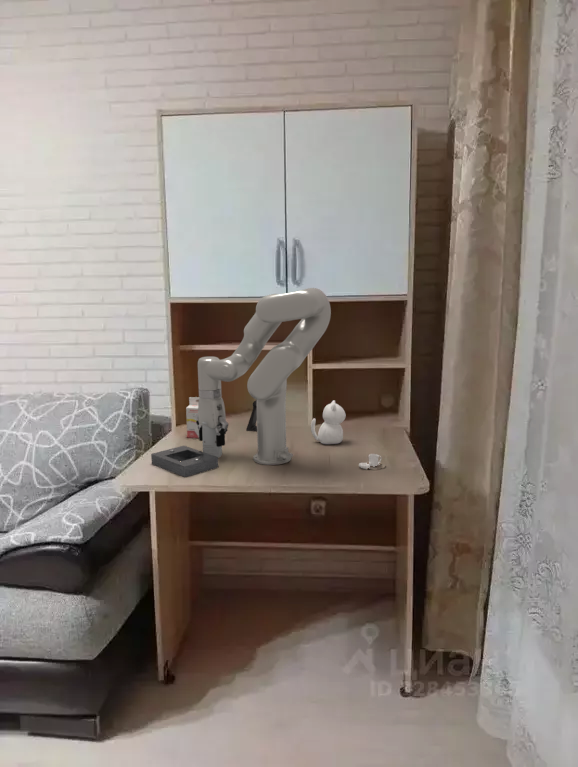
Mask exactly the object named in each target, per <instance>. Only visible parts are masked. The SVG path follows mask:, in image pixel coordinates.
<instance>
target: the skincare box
mask: <svg viewBox="0 0 578 767" xmlns="http://www.w3.org/2000/svg"><path fill="white" fill-rule="evenodd" d="M217 426H220V423H218V425H217ZM220 430H221V429H220V428H219V431H220ZM216 435H217V432H216V430H215V429H212V428H209V427H208V426H207V423H205V422H203V423H202V436H203V441H202V452H205V453H207V454H210V455H213V456H216V457H218V459H219V458H221V456H222V455H223V446H220V447H217V445H216Z"/></svg>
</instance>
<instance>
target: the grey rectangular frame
mask: <svg viewBox="0 0 578 767" xmlns="http://www.w3.org/2000/svg"><path fill="white" fill-rule="evenodd" d="M150 454H151V455H150V457H151V458H150V459H151V465H153V466H156V467H158V468H160V469H162V470H165V471H168V472H171V473H174V474H175V475H178V476H181V477H183V478H187V477H191V476H194V475H197V474H201V473H205V472H207V470H208V471H211V469H212V470H215V469H218V468H219V458H218V457H216V456H213V455H210V454H207V453H205V452H203V450H198V449H196V448H192V447H190V446H187V445H180V446H176V447H172V448H169V449H165V450H161V451H157V452H153V453H150ZM180 461H181V462H180ZM217 467H218V468H217ZM204 471H205V472H204ZM200 472H201V473H200Z"/></svg>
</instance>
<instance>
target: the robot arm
mask: <svg viewBox="0 0 578 767" xmlns="http://www.w3.org/2000/svg"><path fill="white" fill-rule="evenodd" d="M331 309H332V308H331V303H330V301H329V298H328V297H327V294H326V293H325V292H324V291H322V290H321V289H319V288H317V287H316V288H315V287H308V288H305V289H302V290H297V291H291V292H286V293H271V294H267V295H264V296H262V297H261V298H260V299H259V300H258V302H257V303H256V306H255V312H254V313H253V314H254V315H252V317H251V318H250V319H249V321H248V323H247V324H246V325H245V326H244V329H243V337H242V340H241V342H239V343H240V344H239V345H238V346H237V348H236V349H235V351H234V352H233V353H232V354H231V355H230V356H227V357H226V358H222V359H220V358H219V357H217V356H202V357H200V358H198V361H197V378H198V379H197V382H198V397H199V400H198V401H197V402H198V414H196V415H195V419H196V423H197V425H198V429H200V430H199V438H198V440H199V441H200V442H203V436H202V423H203V422H205V423H207V426H208V427H209V428H212V429H215V430H216V432H217V435H216V445H217V447H220V446H222V447H223V446H226V434H227V432H228V427H229V423H228V421H227V418H226V406H225V403H224V399H223V397H222V396H223V394H222V382H226V383H227V382H229V383H230V382H233V381H235V380H237V379H239V378H240V377H242V376H244V375H245V374H246V373H247V371H248V370H249V369H250V368H251V366H252V365H253V364H254V363H255V361H256V360H257V359H258V357H259V355H260V354H261V352H262V350H263V349H264V348H265V346H266V344H267V343H268V341H269V340H270V338H271V337H272V336H273V334H274V333H275V332H276V331H277V329H278V328H279V327H280V325H281V324H282V322H284V323H285V322H291V321H295V320H300V321H299V322H298V323H297V324H296V325H295V327H294V328H293V329H292V331H291V332H290V333H289V334H288V336H287V337H285V339H284V340H283V341H282V342H280V343H278V344H277V345H275V346H273V347H272V348H271V349H270V350H269V351H268V352H267V354H266V355H265V356H264V357H263V359H261V361H260V362H259V363H258V365H257V367H256V368H255V369H254V371H253V372H252V373H251V375H250V376H249V378H248V379H247V385H246V387H247V391H248V394H249V396H250V397H251V398H252V399H254V400H257V421H256V426H257V431H256V433H257V435H256V436H257V437H256V438H257V441H256V442H257V452H256V453H255V454H254V455H253V456H252V457H253V459H252V460H253V462H255V463H256V464H260V465H266V466H274V465H275V466H276V465H283V464H285V463H288V462H290V461H291V459H292V458H293V457H294V453H292V452H289V447H288V446H287V423H286V422H287V421H286V418H287V417H286V416H287V415H286V410H287V409H286V408H287V407H286V405H287V404H286V401H287V400H286V399H287V398H286V397H287V396H286V395H287V387H288V386H287V385H288V383H287V381H288V380H287V379H288V378H289V377H290V375H291V374H292V373H293V372H294V371H296V370H297V369H298V368H299V367H300V366H301V365H302V363H303V362H304V361H305V359H306V357H307V356H308V355H309V354H310V353H311V351H312V350H313V349H314V348H315V346H316V344H317V343H318V342H319V340H320V339H321V338H322V336H323V335H324V334H325V332H326V331H327V329H328V327H329V324H330V321H331V317H332V316H331V315H332V313H331V312H332V310H331ZM218 423H220V426H217V425H218ZM219 428H220V429H221V430H220V431H219Z"/></svg>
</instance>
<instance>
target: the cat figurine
mask: <svg viewBox="0 0 578 767" xmlns="http://www.w3.org/2000/svg"><path fill="white" fill-rule="evenodd" d="M346 417H347V416H346V411H345V410H344V408H343V407H342V406H341V405H339V404H338V403H336V400H332V401H331V402H330V403H328V404H326V406H325V407H324V408H323V412H322V419H323V421H324V422H323V423H322V424H321V426H320V427H319V428H318V433H317V432H316V428H315V427H316V417H315V418H314V417H313V419H312V420H311V422H310V431H311V434H312V437H313V439H314V440H316V441H318V442H320V443H321V444H323V445H337V444H340V443H342V442H343V439H344V430H343V426H342V425H341V424H342V423H343V422H344V421H345V419H346Z"/></svg>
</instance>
